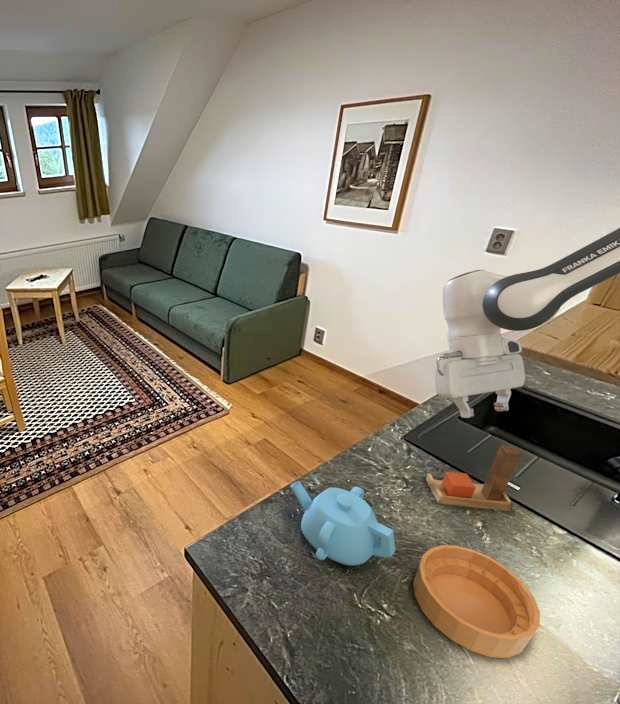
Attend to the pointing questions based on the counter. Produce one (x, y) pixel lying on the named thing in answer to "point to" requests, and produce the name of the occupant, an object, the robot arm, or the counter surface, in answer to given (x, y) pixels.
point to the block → (458, 485)
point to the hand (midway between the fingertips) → (484, 414)
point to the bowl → (476, 601)
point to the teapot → (343, 526)
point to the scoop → (493, 488)
